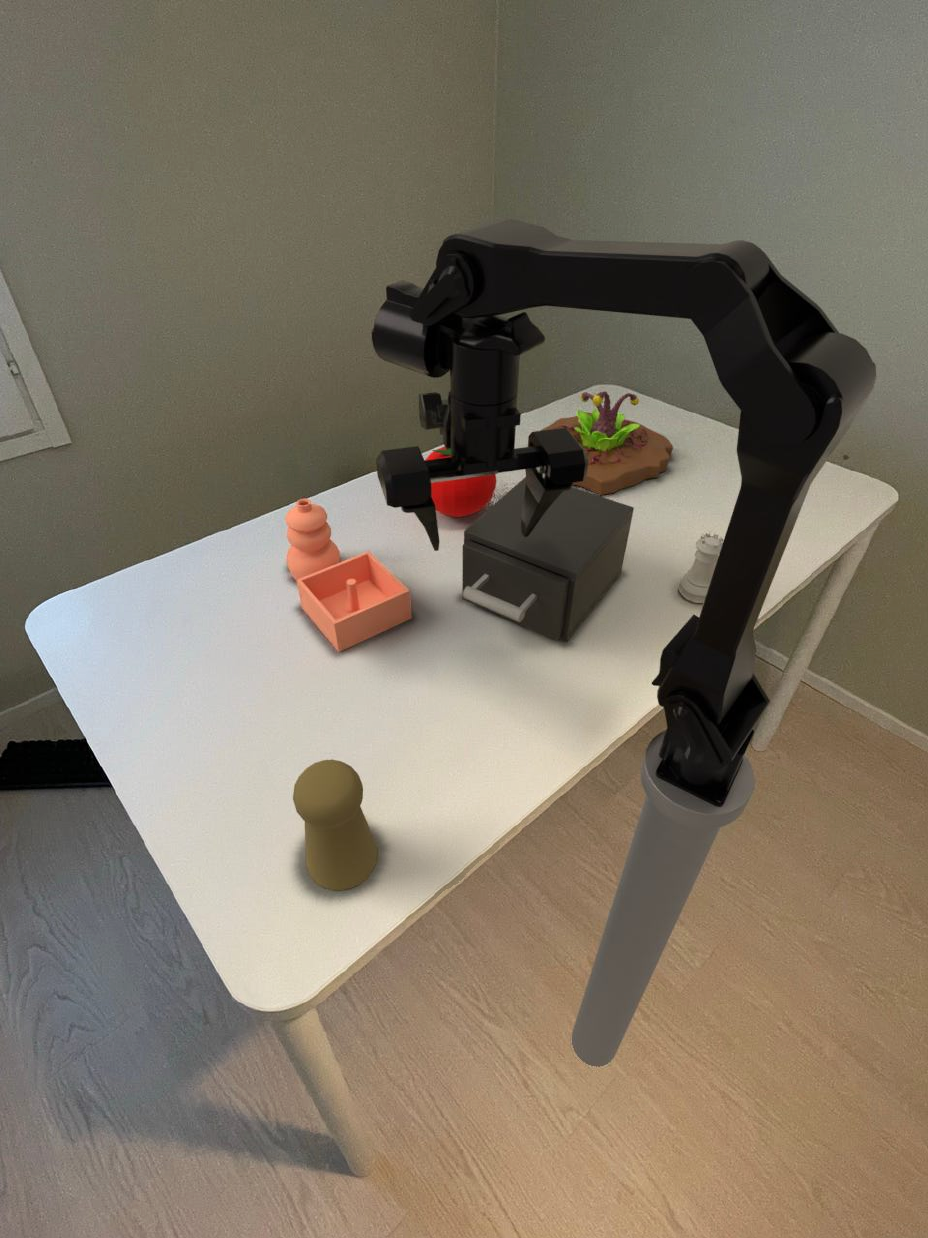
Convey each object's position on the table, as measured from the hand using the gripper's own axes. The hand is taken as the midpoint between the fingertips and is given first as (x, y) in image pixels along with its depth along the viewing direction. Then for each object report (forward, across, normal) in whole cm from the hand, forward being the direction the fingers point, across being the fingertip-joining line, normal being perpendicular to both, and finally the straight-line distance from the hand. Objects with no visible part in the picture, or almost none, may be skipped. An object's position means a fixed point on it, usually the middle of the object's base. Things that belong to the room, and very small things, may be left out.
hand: (480, 541), depth 70 cm
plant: (+14, -29, -34) cm, 47 cm away
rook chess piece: (+14, -28, -1) cm, 31 cm away
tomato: (+14, -4, -26) cm, 29 cm away
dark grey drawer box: (+13, -10, -7) cm, 18 cm away
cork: (+14, +18, +23) cm, 32 cm away
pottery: (+14, +14, -12) cm, 23 cm away
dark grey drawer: (+12, -7, -4) cm, 15 cm away
